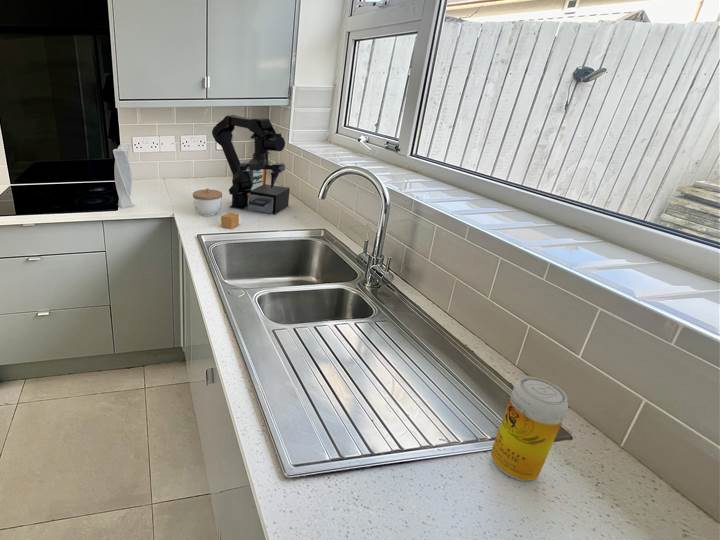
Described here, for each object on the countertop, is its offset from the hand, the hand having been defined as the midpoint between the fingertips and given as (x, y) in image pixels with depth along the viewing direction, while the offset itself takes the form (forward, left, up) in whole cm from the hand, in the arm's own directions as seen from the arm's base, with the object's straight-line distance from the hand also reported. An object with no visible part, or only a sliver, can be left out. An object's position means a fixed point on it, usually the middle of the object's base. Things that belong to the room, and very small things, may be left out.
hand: (261, 187), depth 171 cm
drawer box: (-1, +10, -12) cm, 16 cm away
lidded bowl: (-20, -12, -12) cm, 26 cm away
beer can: (+87, -89, -12) cm, 125 cm away
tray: (-1, +5, -11) cm, 12 cm away
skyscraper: (-58, -23, -12) cm, 63 cm away
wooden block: (-4, -20, -12) cm, 23 cm away
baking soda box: (-16, +24, -12) cm, 31 cm away
